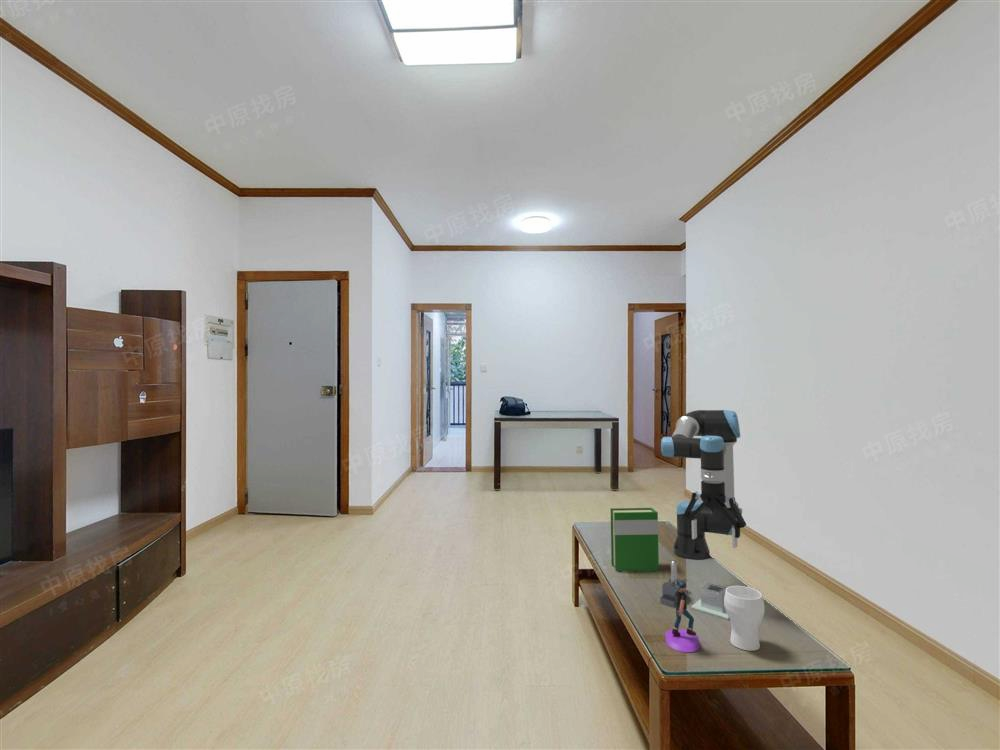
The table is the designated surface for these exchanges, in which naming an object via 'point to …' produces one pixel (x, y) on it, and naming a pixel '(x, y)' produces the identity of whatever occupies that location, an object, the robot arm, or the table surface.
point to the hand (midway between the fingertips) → (714, 542)
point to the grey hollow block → (713, 597)
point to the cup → (744, 616)
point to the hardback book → (634, 539)
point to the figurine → (679, 637)
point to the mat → (709, 610)
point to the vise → (671, 587)
